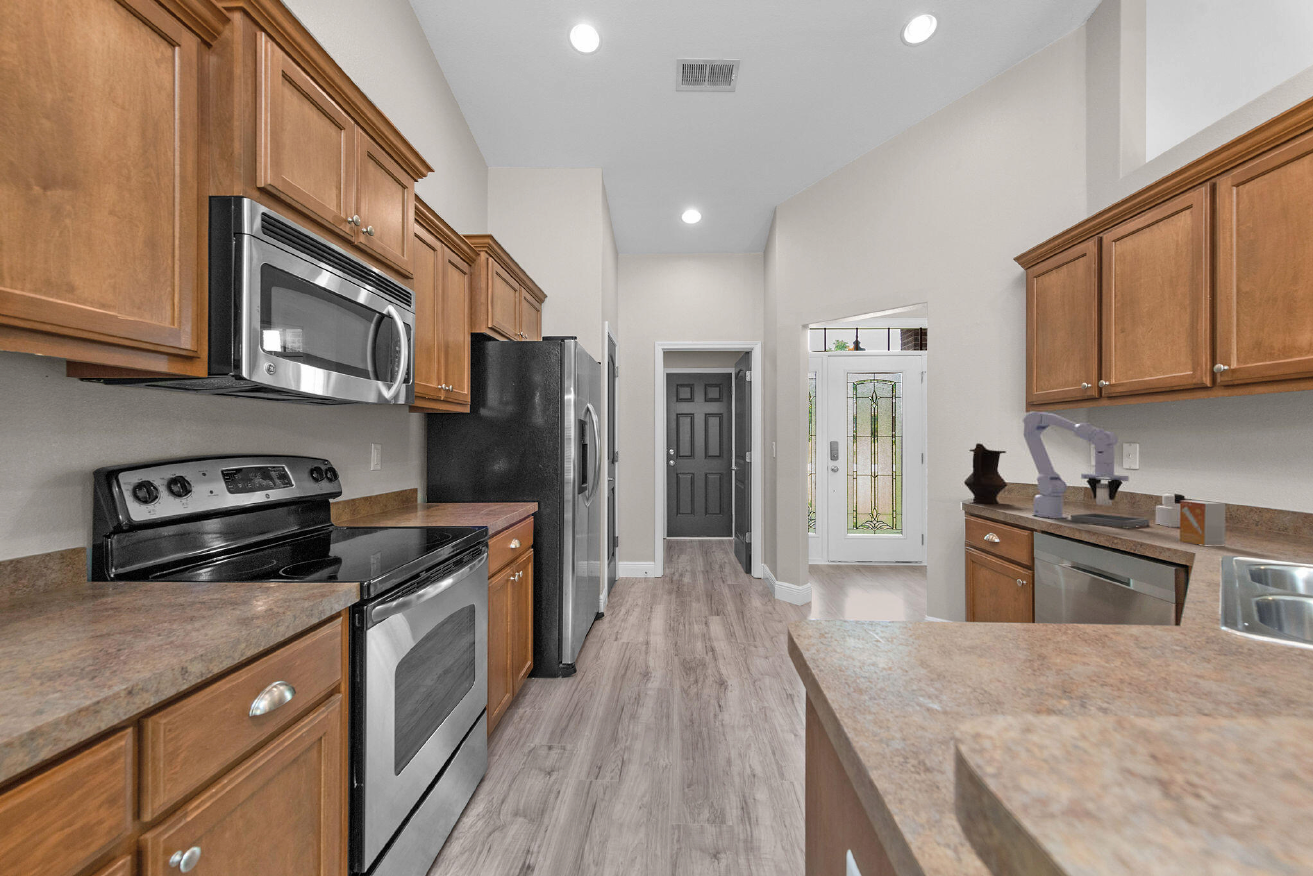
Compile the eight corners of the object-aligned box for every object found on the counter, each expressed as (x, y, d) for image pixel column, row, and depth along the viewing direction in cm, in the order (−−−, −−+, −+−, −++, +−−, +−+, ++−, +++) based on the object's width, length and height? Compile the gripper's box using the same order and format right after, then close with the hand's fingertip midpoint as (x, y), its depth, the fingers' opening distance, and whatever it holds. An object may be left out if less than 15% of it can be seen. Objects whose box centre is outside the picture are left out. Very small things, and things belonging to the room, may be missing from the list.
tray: (1070, 521, 213) (1070, 515, 213) (1093, 519, 220) (1093, 513, 220) (1126, 528, 197) (1126, 521, 197) (1149, 525, 204) (1149, 519, 204)
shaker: (1093, 504, 209) (1093, 483, 209) (1100, 503, 211) (1100, 483, 211) (1106, 505, 205) (1106, 484, 205) (1114, 505, 206) (1114, 484, 206)
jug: (972, 499, 288) (973, 443, 288) (1012, 503, 274) (1013, 443, 274) (955, 502, 274) (956, 443, 274) (996, 506, 260) (997, 443, 260)
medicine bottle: (1175, 524, 207) (1175, 493, 207) (1192, 527, 200) (1192, 495, 200) (1155, 524, 208) (1155, 492, 208) (1170, 527, 200) (1171, 494, 200)
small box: (1179, 541, 172) (1179, 500, 172) (1199, 541, 172) (1199, 500, 172) (1204, 546, 164) (1205, 503, 164) (1226, 546, 164) (1226, 503, 164)
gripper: (1077, 462, 213) (1076, 497, 213) (1121, 464, 200) (1121, 501, 199) (1087, 462, 216) (1086, 496, 216) (1131, 464, 203) (1131, 500, 203)
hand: (1104, 499), depth 208 cm, fingers closed on shaker, 4 cm apart
